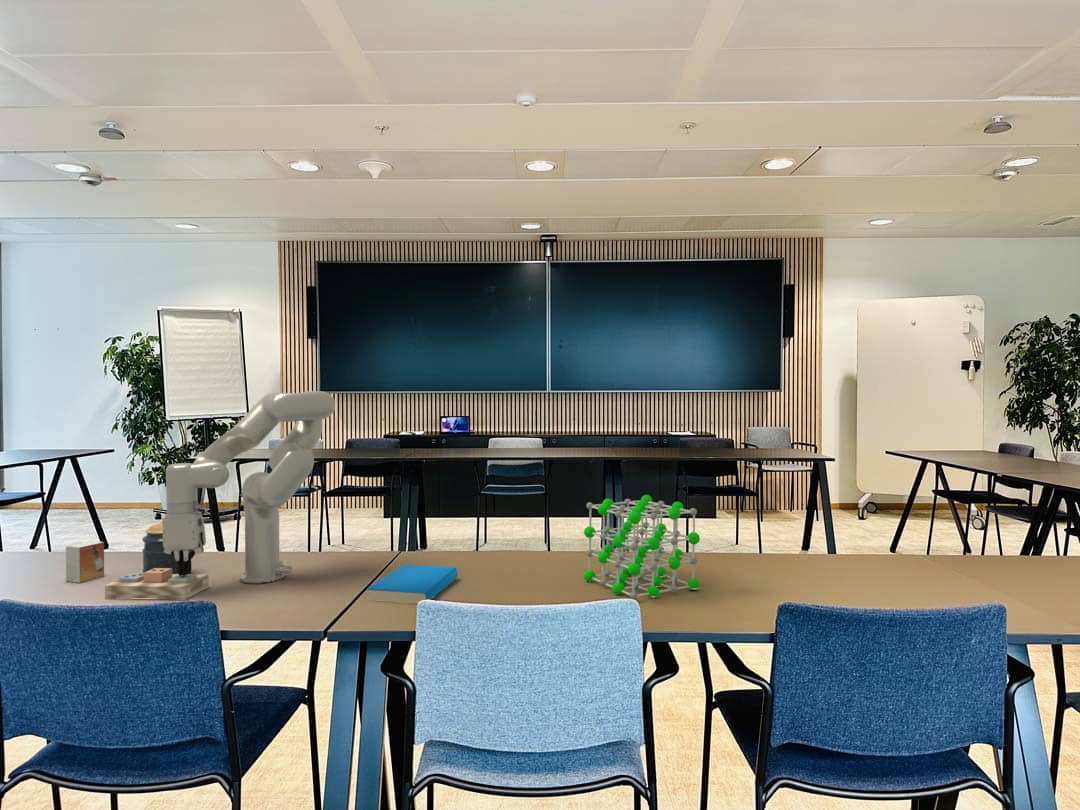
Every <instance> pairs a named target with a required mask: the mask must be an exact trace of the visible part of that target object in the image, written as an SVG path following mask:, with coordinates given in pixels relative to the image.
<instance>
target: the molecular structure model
mask: <svg viewBox="0 0 1080 810" xmlns="http://www.w3.org/2000/svg"><path fill="white" fill-rule="evenodd" d="M630 505H634V506H630ZM585 507H586V508H587V509H588V510H589V519H588V520H589V524H588V525H589V526H586V527H585V528H584V530H583V535H584V536H585V538H588V549H587V550H586V553H585V555H586V556H587V557H588V570H586V571H585V572H584V574H583V579H584V580H585V581H586V582H587V581H592V582H594V581H596V582H598V583H599V585H600V586H602V587H605V586H606V587H610V588H611V589H612V592H613V594H614V595H616V594H621V595H623V594H625V595H627V596H629V598H630V599H631V598H634V600H636V599H637V598H640V597H644V596H648V595H649V596H658V597H659V596H660V594H661V593H666V592H672V591H676V592H677V590H681V589H689V588H699V589H700V581H699V580H698V579H697V578H695V565H696V564H697V562H698V560H697V557H695V547H696V546H695V545H697V544H698V543H699V542H700V539H701V538H700V534H698V532H695V531H696V515H697V513H698V510H697V508H696V507H695V508H694V507H692V508H690V509H685V508H684V504H683V503H682V502H680V501H675V502H673V503H672V505H667V504H665V502H664V501H663V500H659V501H657V502H654V501H653V498H652V497H651V496H650V495H649V494H645V495H642V497H641V498H640V500H631V499H630V498H626V499H624V501H619V502H614V501H613V500H612V499H611V498H605V499H604V500H603V501H602V503H598V504H593V502H587V503H586V506H585ZM592 509H594V510H597V512H598V514H599V515H601V516H602V529H598V530H596V529H595V527H593V526H592V511H593V510H592ZM610 514H614V516H615V517H616V518H617V527H615V528H614V527H611V526H610ZM684 514H690V515H691V516H692V531H691V532H690V533H689V534H687V535H685V534H681V532H680V530H678V527H679V525H678V523H679V518H681V517H680V516H681V515H684ZM606 516H607V517H606ZM666 516H667V517H668V518H669V519H670V520H672V521H673V523H672V524H673V525H672V527H673V528H672V529H673V530H672V531H670V530H667V526H666V525H665V524H664V523H663V517H666ZM624 518H626V521H625V522H624V520H625V519H624ZM606 519H607V520H606ZM648 519H650V520H652V525H650V523H649V522H648ZM655 521H656V522H655ZM640 522H641V523H640ZM639 523H640V525H639ZM655 524H656V525H655ZM599 533H600V534H599ZM610 533H613V534H610ZM666 533H667V534H666ZM639 535H640V536H639ZM595 536H596V537H599V538H600V540H601V541H602V549H601V550H597V551H593V550H592V538H594V537H595ZM612 537H613V538H612ZM669 537H671V538H669ZM679 537H682V538H679ZM605 540H606V541H605ZM664 540H665V541H664ZM610 541H611V542H612V545H613V546H614V547H613V546H612V545H611V544H610ZM684 541H688V543H689V544H691V545H692V546H691V547H692V548H691V549H692V552H691V553H692V555H691V557H686V556H684V553H683V551H682V550H681V549H679V548H678V542H684ZM605 542H606V544H605ZM630 543H631V544H630ZM639 543H640V544H639ZM663 544H671V545H672V552H670V551H668V550H665V548H664V547H663V546H662V545H663ZM614 551H615V552H616V551H617V553H614ZM624 551H625V553H626V554H625V553H624ZM631 551H632V553H629V552H631ZM655 553H656V554H655ZM663 553H665V554H668V555H664V556H662V554H663ZM593 556H594V557H596V558H597V559H598V562H599V563H600V564H601V565H602V566H601V568H602V569H601V570H602V571H601V574H595V572H594V571H593V570H592V557H593ZM630 557H632V558H630ZM647 557H649V558H647ZM668 558H669V559H668ZM614 559H617V560H614ZM682 559H684V560H683V561H681V560H682ZM625 560H626V561H625ZM648 561H651V563H650V564H649V565H648ZM662 562H666V563H662ZM609 563H612V564H614V567H616V571H614V572H611V570H609V565H610V564H609ZM688 563H690V564H691V578H690V579H689V580H688V581H687V582H686V581H684V580H681V579H680V576H679V575H678V569H679V568H680V567H681V564H688ZM605 564H606V570H605ZM665 567H669V568H670V569H672V573H671V575H672V576H671V575H668V574H667V573H668V571H667V569H666V568H665ZM644 570H645V572H647V571H648V572H651V573H650V574H645V573H644ZM615 575H616V576H615ZM627 575H630V576H632V577H629V576H627ZM660 576H665V577H666V578H668V579H666V580H664V578H661V577H660ZM600 577H601V579H598V578H600ZM605 577H607V578H610V577H611V578H613V579H615V580H610V581H607V579H605ZM650 577H651V578H650ZM641 579H642V580H646V581H648V583H642V584H641V583H640V582H639V581H638V580H641ZM675 581H678V582H677V583H681V584H684V585H683V586H677V585H676V584H675V583H676V582H675ZM670 582H672V583H671V585H667V584H664V583H670ZM626 583H627V584H626ZM611 584H613V585H611ZM623 584H625V585H630V586H625V585H623ZM647 586H649V587H647ZM656 586H662V587H664V588H666V589H661V590H660V588H658V587H656ZM645 587H647V588H645ZM629 589H631V590H632V591H631V592H628V591H626V590H629ZM639 589H640V590H643V591H645V592H644V593H639V594H638V593H637V592H636V591H635V590H639ZM622 593H623V594H622ZM649 596H648V597H649Z"/></svg>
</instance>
